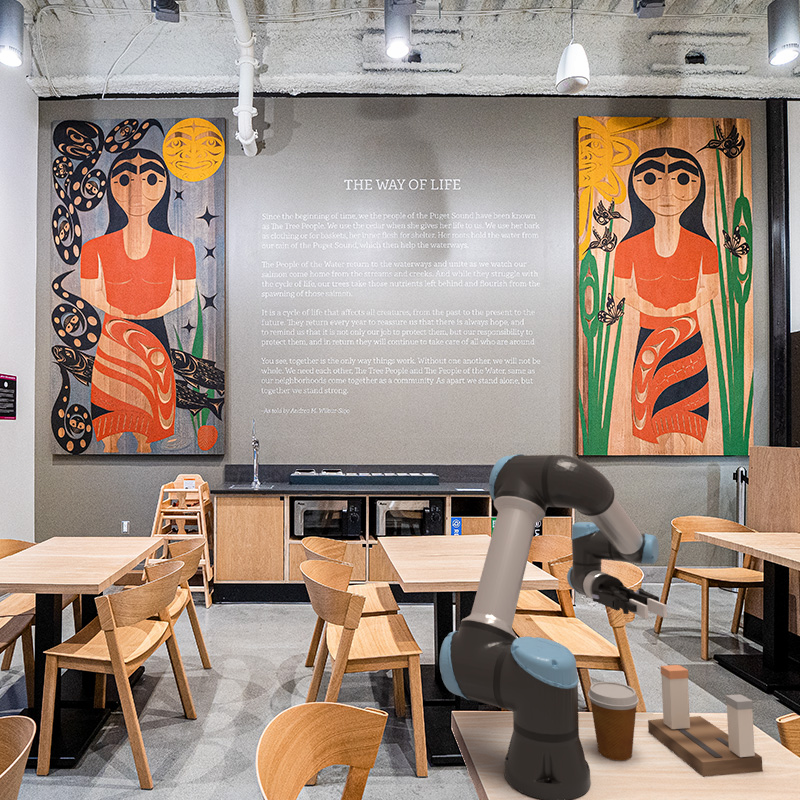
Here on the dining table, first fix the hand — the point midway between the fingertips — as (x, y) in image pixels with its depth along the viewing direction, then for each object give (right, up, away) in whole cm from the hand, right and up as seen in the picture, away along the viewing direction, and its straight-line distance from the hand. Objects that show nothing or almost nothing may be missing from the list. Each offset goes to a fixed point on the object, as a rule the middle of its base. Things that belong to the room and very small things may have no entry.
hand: (655, 611), depth 134 cm
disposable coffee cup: (-14, -23, -14) cm, 30 cm away
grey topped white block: (+8, -20, -19) cm, 29 cm away
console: (+4, -23, -13) cm, 27 cm away
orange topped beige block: (+1, -21, -8) cm, 22 cm away
